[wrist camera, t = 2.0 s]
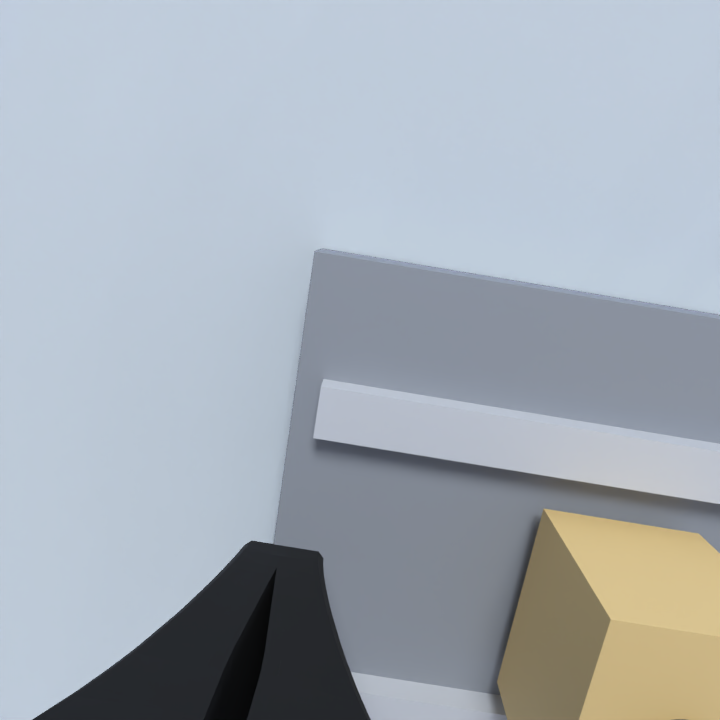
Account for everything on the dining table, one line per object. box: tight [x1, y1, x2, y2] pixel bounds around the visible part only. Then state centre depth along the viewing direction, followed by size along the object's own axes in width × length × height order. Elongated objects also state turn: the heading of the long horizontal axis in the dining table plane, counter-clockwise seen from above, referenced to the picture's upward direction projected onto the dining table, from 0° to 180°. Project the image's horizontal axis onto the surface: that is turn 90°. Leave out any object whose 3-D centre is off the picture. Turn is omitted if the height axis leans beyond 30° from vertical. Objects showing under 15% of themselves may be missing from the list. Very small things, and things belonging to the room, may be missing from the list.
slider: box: [497, 509, 720, 720], centre depth 9 cm, size 3×4×4 cm
